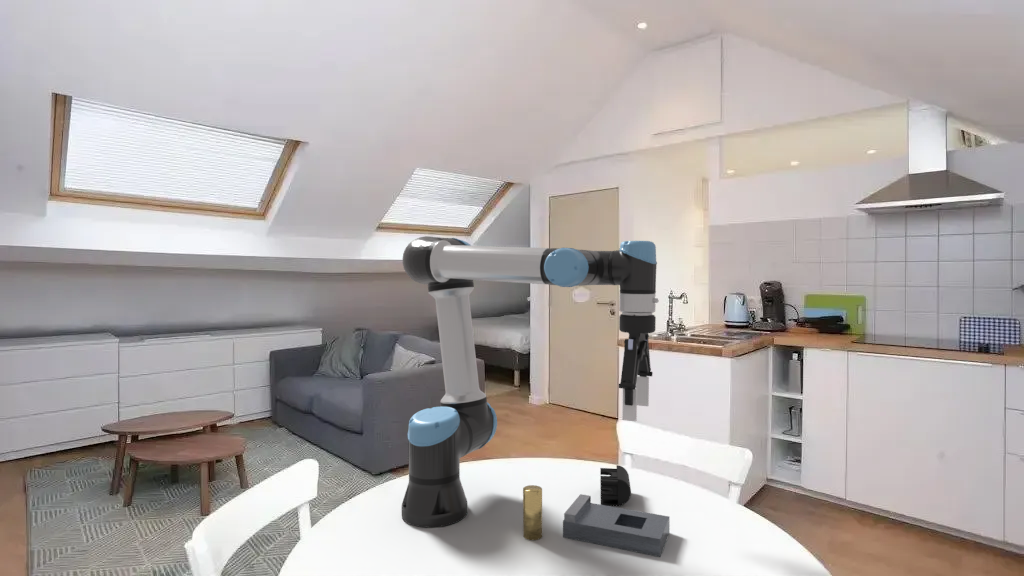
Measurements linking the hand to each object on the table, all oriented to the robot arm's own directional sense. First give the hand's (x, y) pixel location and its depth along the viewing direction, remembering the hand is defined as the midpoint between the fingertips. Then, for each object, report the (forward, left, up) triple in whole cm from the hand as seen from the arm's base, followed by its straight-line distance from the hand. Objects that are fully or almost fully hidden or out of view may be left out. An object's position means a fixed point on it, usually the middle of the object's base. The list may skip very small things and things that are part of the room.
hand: (636, 412), depth 118 cm
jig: (-3, -4, -25) cm, 26 cm away
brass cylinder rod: (-19, -12, -25) cm, 34 cm away
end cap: (-8, +14, -26) cm, 31 cm away
